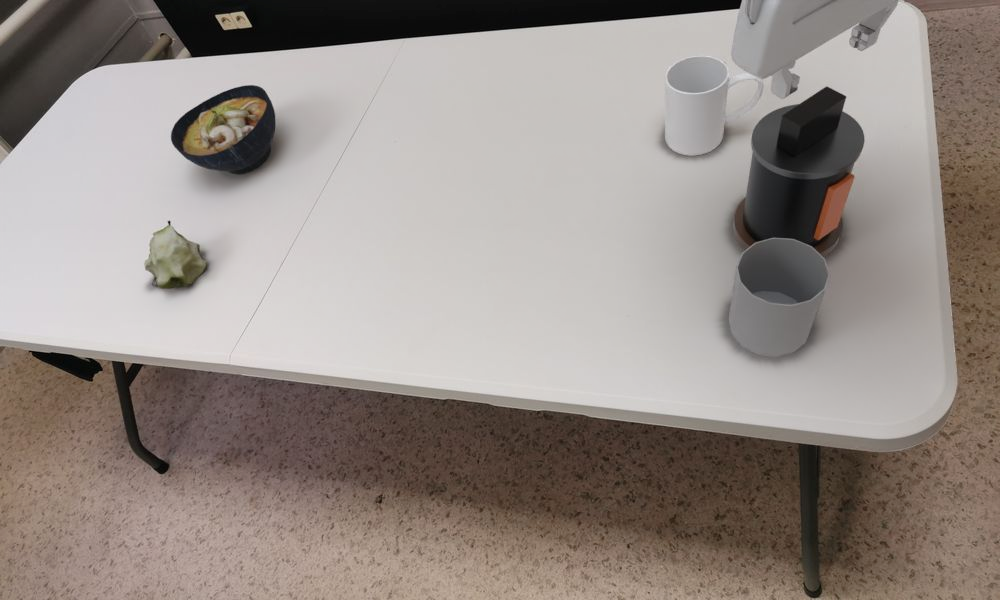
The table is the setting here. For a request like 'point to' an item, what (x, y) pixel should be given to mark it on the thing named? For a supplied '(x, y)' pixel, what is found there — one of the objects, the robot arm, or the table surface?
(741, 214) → the disc
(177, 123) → the bowl
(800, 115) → the bin
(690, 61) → the mug
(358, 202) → the table surface
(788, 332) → the cup
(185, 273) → the fruit
